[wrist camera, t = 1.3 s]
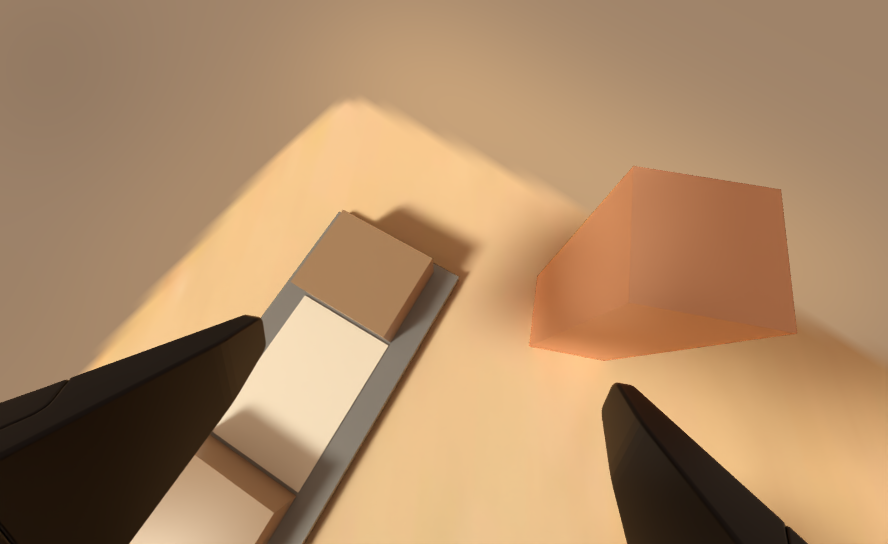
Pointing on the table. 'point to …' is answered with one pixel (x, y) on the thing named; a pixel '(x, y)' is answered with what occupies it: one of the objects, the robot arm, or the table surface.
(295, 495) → the rail
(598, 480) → the table surface
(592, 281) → the wooden post
